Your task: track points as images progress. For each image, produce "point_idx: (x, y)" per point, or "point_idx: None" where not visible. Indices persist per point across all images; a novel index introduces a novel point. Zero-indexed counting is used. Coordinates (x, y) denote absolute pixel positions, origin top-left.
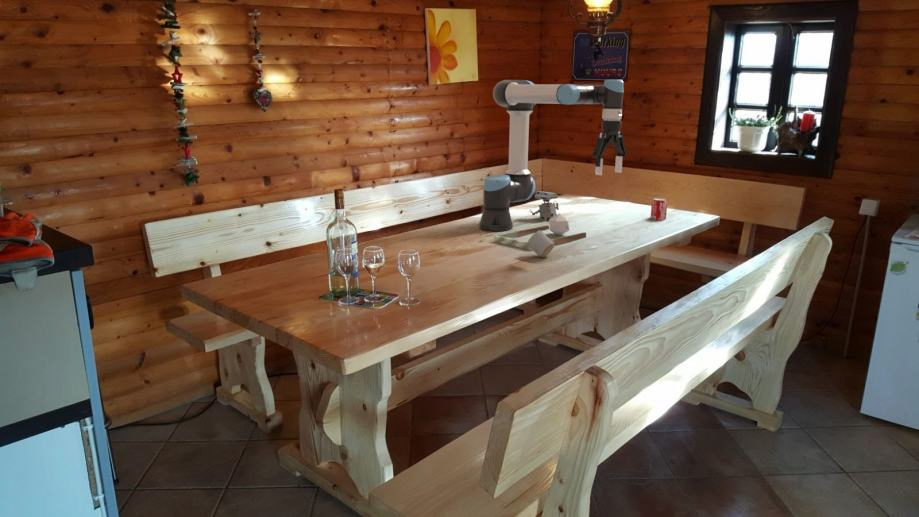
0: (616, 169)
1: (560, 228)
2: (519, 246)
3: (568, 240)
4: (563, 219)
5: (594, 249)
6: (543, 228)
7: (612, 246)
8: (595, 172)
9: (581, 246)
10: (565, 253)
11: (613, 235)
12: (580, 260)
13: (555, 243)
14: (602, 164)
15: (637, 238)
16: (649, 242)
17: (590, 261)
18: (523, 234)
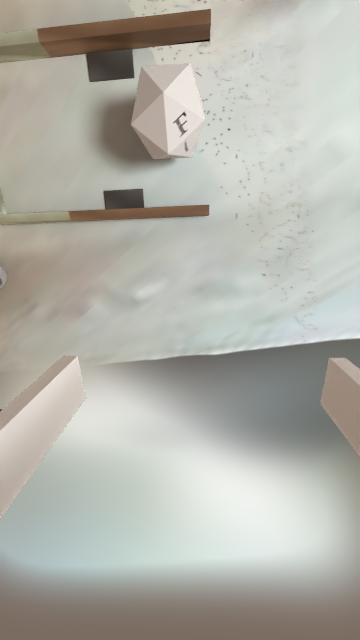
0: (340, 383)
1: (149, 150)
2: None
3: (130, 218)
4: (159, 135)
5: (128, 307)
6: (177, 32)
7: (183, 315)
8: (54, 366)
9: (126, 270)
10: (50, 290)
11: (300, 240)
12: (39, 343)
13: (78, 220)
14: (37, 465)
15: (307, 304)
16: (283, 345)
17: (50, 359)
18: (75, 49)
